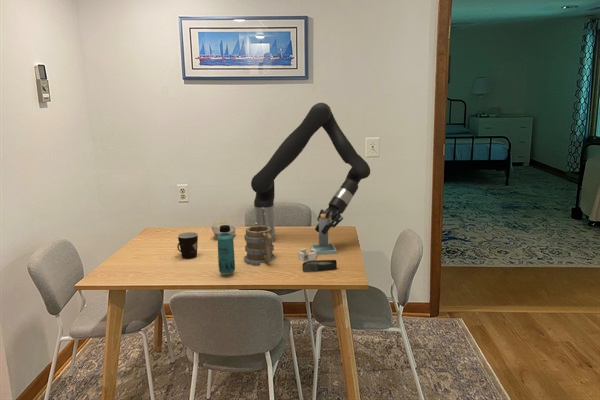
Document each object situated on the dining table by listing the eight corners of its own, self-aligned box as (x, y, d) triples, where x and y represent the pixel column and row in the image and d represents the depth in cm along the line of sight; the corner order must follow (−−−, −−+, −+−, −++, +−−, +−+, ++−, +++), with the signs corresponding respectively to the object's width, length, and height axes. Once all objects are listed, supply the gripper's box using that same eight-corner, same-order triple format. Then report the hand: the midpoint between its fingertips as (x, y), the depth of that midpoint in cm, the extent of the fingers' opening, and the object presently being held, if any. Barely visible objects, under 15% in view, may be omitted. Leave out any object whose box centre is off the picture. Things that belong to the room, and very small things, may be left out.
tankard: (241, 257, 203) (239, 224, 200) (269, 253, 208) (268, 220, 205) (254, 273, 185) (253, 237, 182) (284, 268, 190) (283, 232, 187)
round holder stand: (305, 264, 193) (305, 255, 192) (295, 259, 199) (294, 250, 198) (320, 260, 197) (320, 251, 197) (309, 255, 203) (309, 247, 203)
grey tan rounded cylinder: (319, 246, 204) (319, 215, 201) (318, 244, 208) (317, 213, 205) (328, 246, 204) (328, 215, 201) (327, 243, 208) (326, 213, 205)
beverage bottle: (219, 272, 188) (216, 223, 183) (236, 271, 188) (233, 223, 184) (218, 278, 181) (214, 228, 177) (235, 277, 182) (232, 227, 177)
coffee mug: (192, 252, 212) (191, 231, 210) (203, 256, 206) (201, 234, 204) (169, 258, 204) (167, 236, 202) (179, 263, 198) (178, 240, 196)
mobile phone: (335, 258, 186) (298, 260, 183) (337, 260, 183) (300, 263, 181) (335, 270, 187) (298, 272, 185) (337, 272, 184) (300, 275, 182)
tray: (313, 257, 202) (313, 251, 201) (310, 249, 211) (310, 244, 211) (336, 256, 202) (336, 250, 202) (332, 248, 212) (332, 243, 212)
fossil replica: (240, 236, 236) (224, 235, 240) (238, 219, 235) (222, 219, 239) (226, 241, 225) (209, 240, 230) (224, 224, 224) (207, 223, 229)
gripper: (325, 193, 211) (305, 224, 207) (346, 198, 200) (325, 231, 196) (335, 202, 215) (314, 233, 211) (356, 208, 204) (335, 240, 200)
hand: (319, 232), depth 204 cm, fingers closed on grey tan rounded cylinder, 4 cm apart
